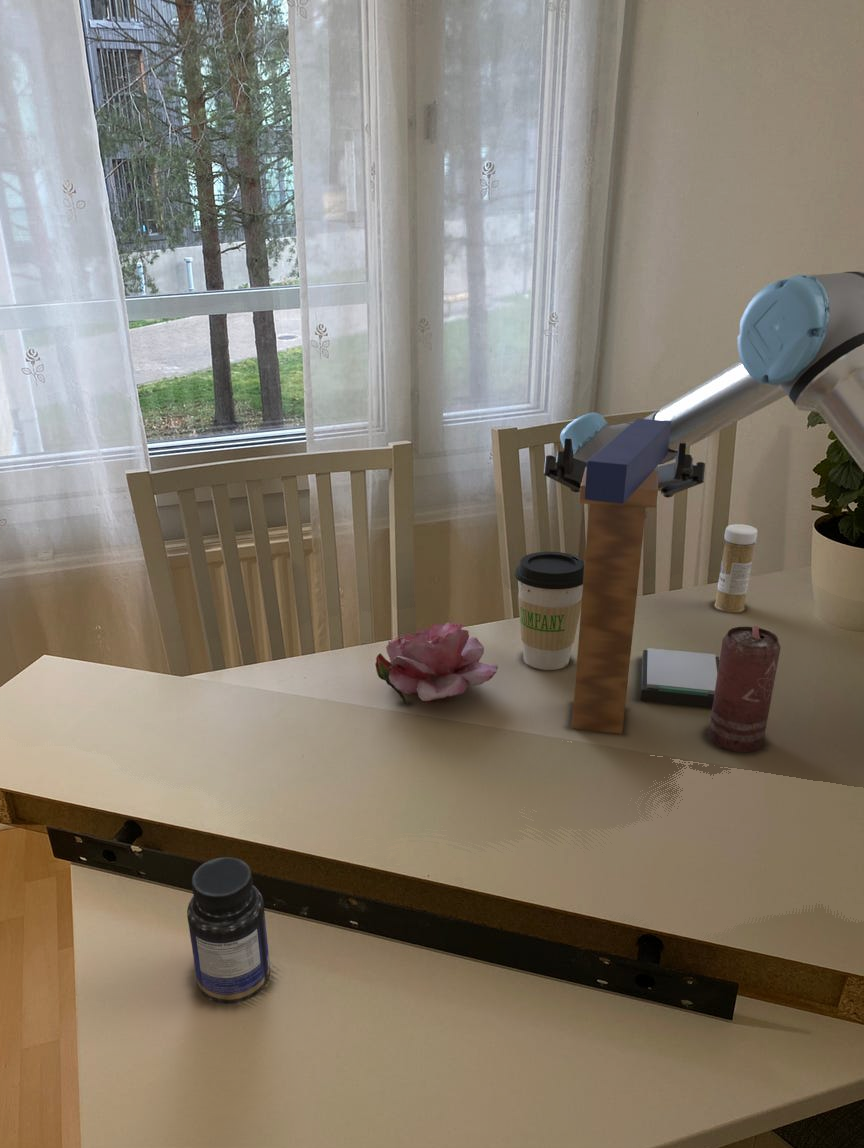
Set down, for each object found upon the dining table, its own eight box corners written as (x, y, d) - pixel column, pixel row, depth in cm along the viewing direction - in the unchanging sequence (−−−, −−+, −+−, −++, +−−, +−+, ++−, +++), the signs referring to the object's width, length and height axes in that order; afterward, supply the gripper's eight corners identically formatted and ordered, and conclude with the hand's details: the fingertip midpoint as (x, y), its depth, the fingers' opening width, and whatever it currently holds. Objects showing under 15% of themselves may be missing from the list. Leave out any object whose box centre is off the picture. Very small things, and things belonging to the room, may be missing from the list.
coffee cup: (498, 654, 131) (502, 555, 125) (558, 642, 134) (565, 546, 128) (532, 683, 123) (538, 580, 116) (595, 670, 126) (604, 569, 119)
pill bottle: (215, 947, 80) (202, 845, 75) (281, 958, 78) (271, 855, 74) (185, 1001, 74) (168, 895, 70) (255, 1014, 73) (243, 907, 68)
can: (759, 731, 110) (778, 626, 104) (764, 758, 105) (784, 649, 99) (706, 725, 112) (722, 621, 106) (708, 752, 106) (725, 644, 100)
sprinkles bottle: (711, 603, 146) (722, 523, 140) (740, 604, 145) (753, 523, 140) (717, 614, 142) (730, 532, 136) (748, 615, 141) (761, 532, 136)
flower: (522, 675, 119) (501, 605, 116) (446, 730, 110) (422, 656, 107) (443, 668, 130) (422, 605, 127) (370, 717, 122) (346, 651, 119)
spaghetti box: (667, 454, 109) (671, 420, 107) (623, 504, 91) (627, 464, 89) (634, 451, 110) (637, 418, 109) (584, 499, 93) (587, 460, 91)
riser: (631, 709, 116) (658, 470, 102) (630, 742, 109) (658, 489, 96) (568, 702, 118) (585, 466, 104) (562, 734, 111) (580, 485, 98)
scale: (716, 669, 125) (719, 652, 124) (722, 712, 115) (725, 693, 114) (641, 662, 128) (643, 645, 127) (640, 703, 117) (642, 685, 116)
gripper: (710, 525, 128) (729, 487, 108) (532, 514, 134) (518, 476, 114) (714, 473, 129) (734, 425, 108) (537, 465, 135) (524, 418, 114)
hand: (623, 451), depth 111 cm, fingers open, 13 cm apart
